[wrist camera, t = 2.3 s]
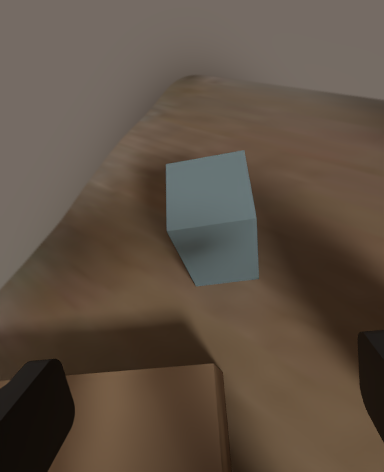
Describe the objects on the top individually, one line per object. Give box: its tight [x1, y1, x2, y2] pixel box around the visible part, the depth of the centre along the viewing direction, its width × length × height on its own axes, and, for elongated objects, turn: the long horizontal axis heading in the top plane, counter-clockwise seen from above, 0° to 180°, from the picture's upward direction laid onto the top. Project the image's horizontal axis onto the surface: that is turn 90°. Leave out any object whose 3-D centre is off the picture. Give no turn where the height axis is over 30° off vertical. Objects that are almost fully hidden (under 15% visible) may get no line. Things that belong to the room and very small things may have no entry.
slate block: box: [166, 150, 259, 286], centre depth 23 cm, size 5×5×9 cm
